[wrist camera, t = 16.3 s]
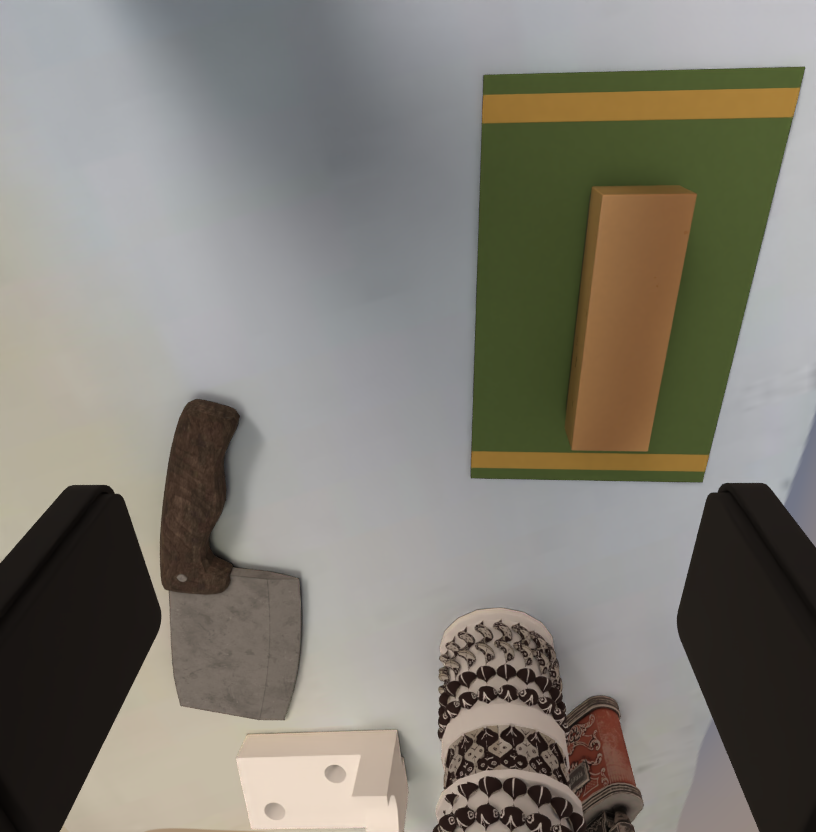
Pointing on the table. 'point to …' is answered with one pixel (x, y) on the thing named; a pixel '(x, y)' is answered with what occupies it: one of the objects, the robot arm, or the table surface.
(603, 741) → the lighter
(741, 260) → the cloth
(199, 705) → the cleaver
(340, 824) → the bracket
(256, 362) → the table surface
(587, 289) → the chalkboard eraser
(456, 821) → the decorative candle
